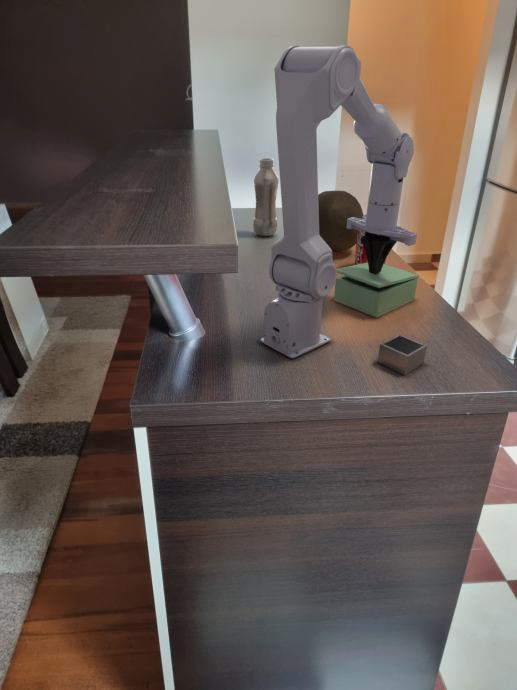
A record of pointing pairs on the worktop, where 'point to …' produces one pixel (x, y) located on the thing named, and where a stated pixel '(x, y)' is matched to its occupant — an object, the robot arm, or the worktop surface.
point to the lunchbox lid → (376, 275)
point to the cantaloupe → (338, 219)
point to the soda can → (360, 248)
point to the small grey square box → (402, 354)
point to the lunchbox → (373, 295)
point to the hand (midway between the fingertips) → (374, 272)
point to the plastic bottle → (265, 198)
